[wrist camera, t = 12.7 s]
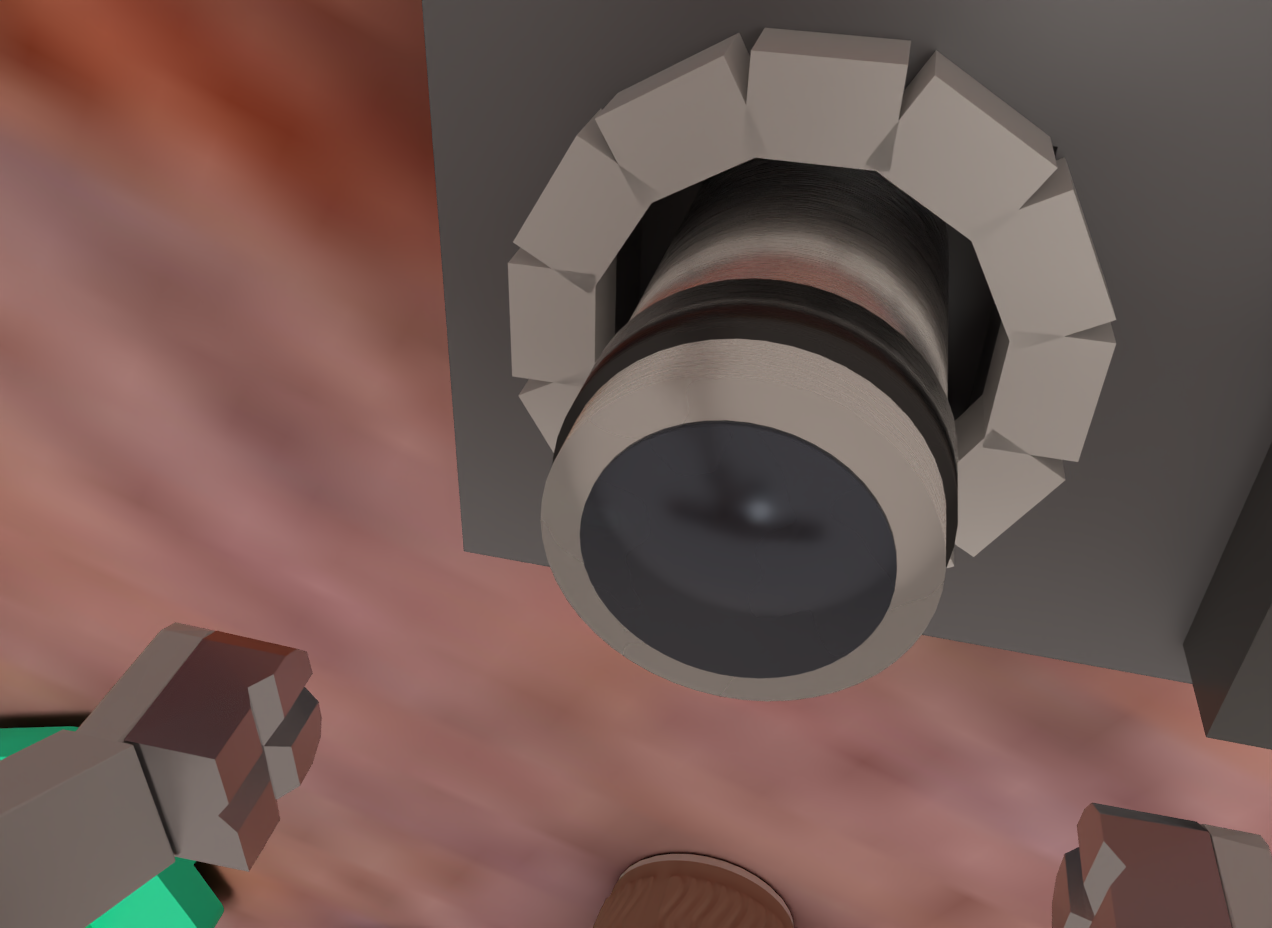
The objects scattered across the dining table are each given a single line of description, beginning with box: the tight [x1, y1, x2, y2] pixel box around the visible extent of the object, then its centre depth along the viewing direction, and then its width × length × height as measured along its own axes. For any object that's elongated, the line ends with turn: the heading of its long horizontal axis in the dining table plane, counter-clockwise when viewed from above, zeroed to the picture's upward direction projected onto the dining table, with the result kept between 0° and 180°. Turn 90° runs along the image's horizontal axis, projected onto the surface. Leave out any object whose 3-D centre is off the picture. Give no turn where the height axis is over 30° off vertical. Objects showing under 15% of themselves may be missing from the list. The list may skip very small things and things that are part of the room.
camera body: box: [422, 0, 1272, 750], centre depth 21 cm, size 14×20×9 cm
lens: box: [541, 158, 958, 701], centre depth 18 cm, size 6×6×10 cm
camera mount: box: [0, 726, 224, 928], centre depth 43 cm, size 12×8×10 cm, turn 16°
